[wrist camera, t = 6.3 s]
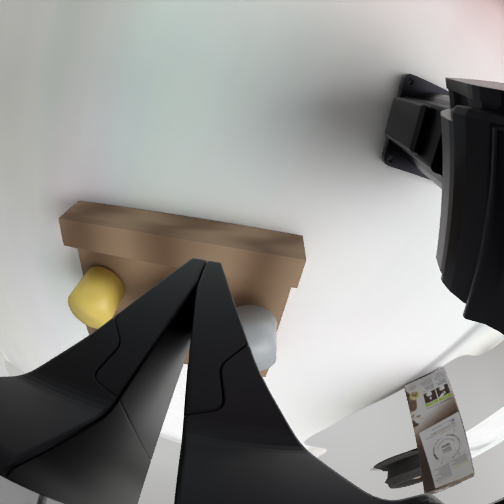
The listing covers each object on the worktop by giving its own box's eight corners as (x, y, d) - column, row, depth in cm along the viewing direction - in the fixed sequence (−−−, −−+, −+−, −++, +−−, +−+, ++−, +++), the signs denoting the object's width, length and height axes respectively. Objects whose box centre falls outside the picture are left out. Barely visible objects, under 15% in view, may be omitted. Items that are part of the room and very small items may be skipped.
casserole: (356, 465, 56) (358, 493, 49) (414, 438, 46) (420, 471, 39) (413, 463, 61) (416, 486, 54) (462, 437, 51) (468, 462, 44)
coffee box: (401, 385, 33) (423, 494, 19) (444, 365, 30) (475, 473, 17) (414, 405, 36) (431, 495, 23) (450, 388, 34) (474, 477, 21)
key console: (302, 236, 21) (306, 260, 19) (266, 354, 29) (264, 378, 27) (78, 200, 21) (58, 218, 18) (102, 321, 29) (91, 341, 26)
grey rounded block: (281, 309, 22) (281, 344, 19) (271, 341, 24) (269, 375, 21) (228, 300, 22) (222, 335, 19) (223, 334, 24) (218, 367, 21)
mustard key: (122, 271, 22) (104, 299, 20) (127, 305, 25) (113, 333, 22) (82, 262, 22) (63, 287, 20) (90, 296, 25) (74, 322, 22)
